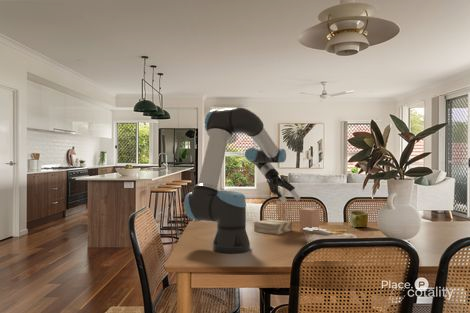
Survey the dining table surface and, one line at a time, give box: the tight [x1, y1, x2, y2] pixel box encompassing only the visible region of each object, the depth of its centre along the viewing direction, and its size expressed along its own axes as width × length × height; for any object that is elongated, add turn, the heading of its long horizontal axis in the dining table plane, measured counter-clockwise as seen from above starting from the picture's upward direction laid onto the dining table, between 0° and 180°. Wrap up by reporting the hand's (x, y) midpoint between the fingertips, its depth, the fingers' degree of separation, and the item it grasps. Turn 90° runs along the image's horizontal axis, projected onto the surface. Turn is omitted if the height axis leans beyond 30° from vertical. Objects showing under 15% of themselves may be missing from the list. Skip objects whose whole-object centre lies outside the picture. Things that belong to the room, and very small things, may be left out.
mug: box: [349, 210, 369, 228], centre depth 192 cm, size 12×10×10 cm
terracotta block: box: [299, 207, 320, 231], centre depth 184 cm, size 7×7×11 cm
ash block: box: [253, 218, 293, 235], centre depth 182 cm, size 14×14×5 cm
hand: (292, 200), depth 191 cm, fingers open, 13 cm apart
